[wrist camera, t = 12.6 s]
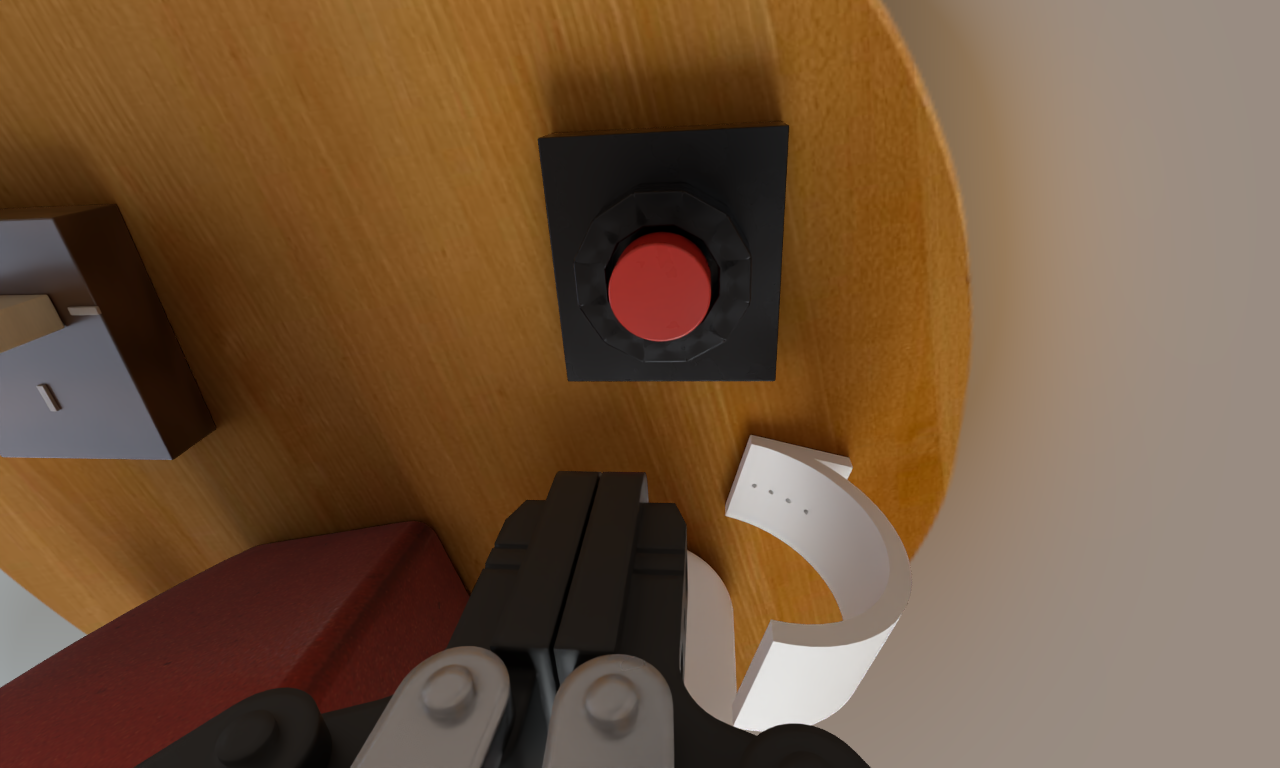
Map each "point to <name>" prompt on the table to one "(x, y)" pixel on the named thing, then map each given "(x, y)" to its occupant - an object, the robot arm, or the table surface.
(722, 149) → the button block
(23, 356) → the panel
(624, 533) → the robot arm
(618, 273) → the button
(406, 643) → the plant pot
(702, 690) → the cup
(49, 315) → the handle
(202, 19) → the table surface
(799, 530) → the headphone stand
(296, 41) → the table surface
